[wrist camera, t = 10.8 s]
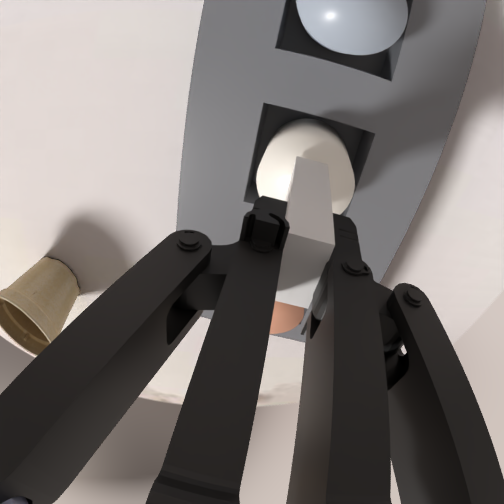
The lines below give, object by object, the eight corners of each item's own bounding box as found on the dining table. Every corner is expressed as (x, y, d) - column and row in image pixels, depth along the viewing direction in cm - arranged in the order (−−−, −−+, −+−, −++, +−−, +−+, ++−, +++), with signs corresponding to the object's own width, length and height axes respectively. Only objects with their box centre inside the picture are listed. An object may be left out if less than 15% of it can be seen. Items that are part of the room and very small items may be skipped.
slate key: (308, -34, 12) (307, -54, 9) (395, -8, 12) (416, -21, 8) (291, 40, 15) (286, 38, 11) (377, 65, 15) (394, 70, 11)
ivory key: (276, 109, 17) (267, 125, 14) (357, 131, 17) (367, 153, 14) (260, 182, 20) (248, 213, 17) (334, 202, 20) (337, 236, 17)
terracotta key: (248, 236, 23) (235, 273, 19) (315, 253, 23) (313, 292, 19) (237, 286, 26) (225, 323, 22) (296, 300, 25) (292, 340, 22)
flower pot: (96, 270, 31) (53, 331, 24) (89, 318, 37) (56, 371, 30) (30, 230, 30) (-18, 279, 23) (32, 282, 35) (-5, 328, 28)
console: (241, -69, 12) (225, -90, 9) (460, -6, 12) (488, -12, 8) (188, 277, 29) (173, 308, 26) (338, 315, 29) (339, 349, 25)
